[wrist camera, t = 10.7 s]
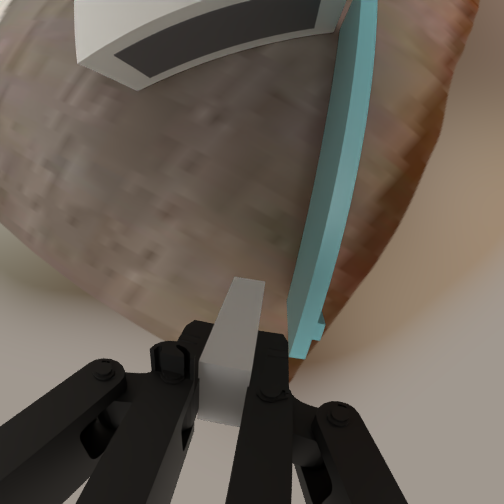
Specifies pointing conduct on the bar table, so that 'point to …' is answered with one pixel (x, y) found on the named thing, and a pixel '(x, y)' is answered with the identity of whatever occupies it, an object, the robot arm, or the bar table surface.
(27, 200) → the bar table surface
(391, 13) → the bar table surface
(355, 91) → the side door
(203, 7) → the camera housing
